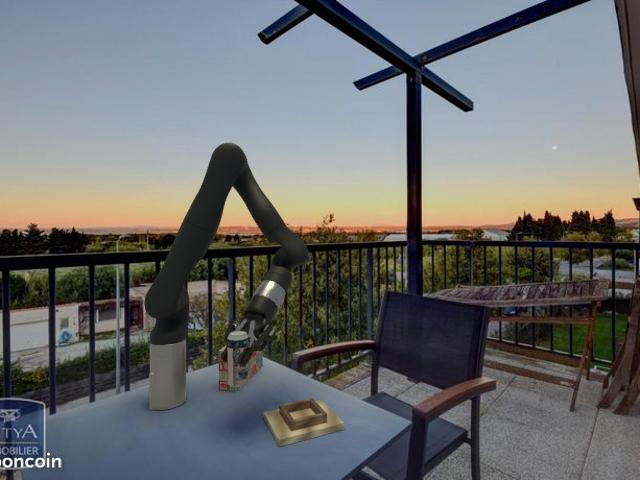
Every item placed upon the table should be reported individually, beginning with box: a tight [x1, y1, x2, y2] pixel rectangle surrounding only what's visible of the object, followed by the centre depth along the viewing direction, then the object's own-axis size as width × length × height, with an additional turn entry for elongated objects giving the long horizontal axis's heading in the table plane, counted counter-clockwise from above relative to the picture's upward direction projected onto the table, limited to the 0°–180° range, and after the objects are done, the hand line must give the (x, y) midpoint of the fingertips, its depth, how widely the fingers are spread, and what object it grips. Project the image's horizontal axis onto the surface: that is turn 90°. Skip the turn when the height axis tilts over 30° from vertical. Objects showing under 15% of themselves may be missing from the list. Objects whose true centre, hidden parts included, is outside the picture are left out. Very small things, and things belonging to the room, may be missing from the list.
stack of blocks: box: [218, 343, 264, 393], centre depth 110 cm, size 21×6×12 cm, turn 170°
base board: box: [263, 397, 345, 447], centre depth 82 cm, size 16×13×4 cm
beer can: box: [226, 331, 249, 388], centre depth 78 cm, size 5×5×12 cm
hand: (232, 362), depth 77 cm, fingers closed on beer can, 4 cm apart
